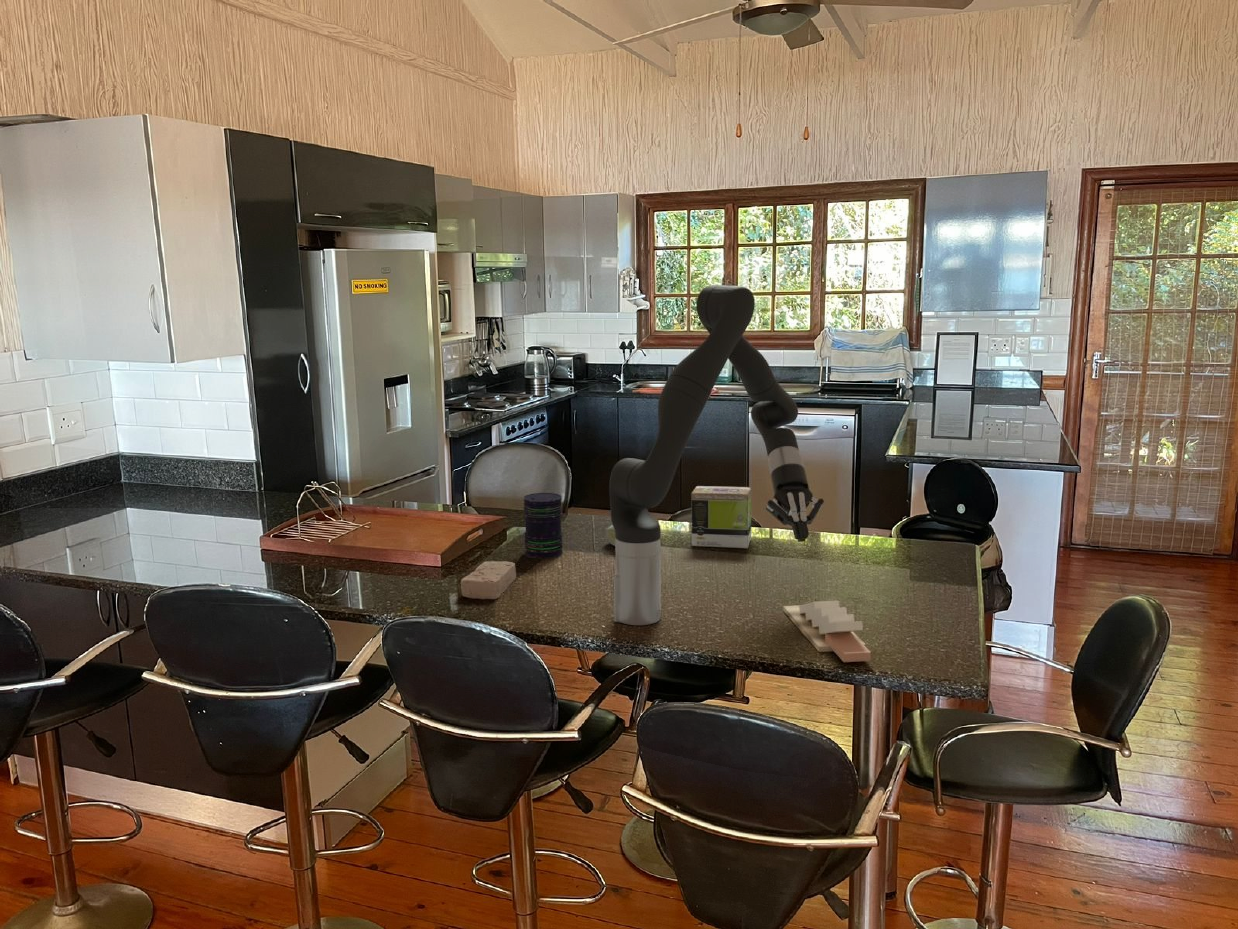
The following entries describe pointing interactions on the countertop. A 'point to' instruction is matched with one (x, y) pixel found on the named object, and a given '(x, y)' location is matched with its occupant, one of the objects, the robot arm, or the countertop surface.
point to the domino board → (810, 628)
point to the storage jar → (543, 525)
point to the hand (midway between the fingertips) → (802, 539)
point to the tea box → (721, 516)
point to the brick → (488, 580)
